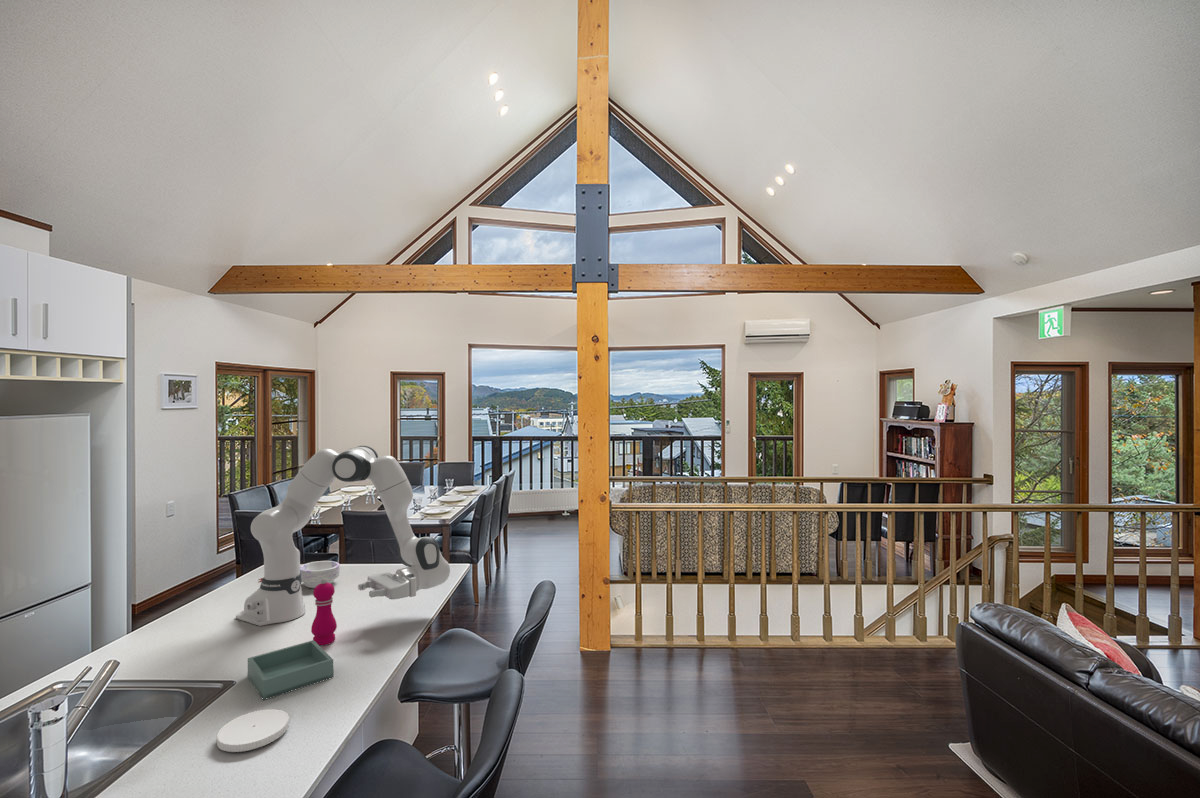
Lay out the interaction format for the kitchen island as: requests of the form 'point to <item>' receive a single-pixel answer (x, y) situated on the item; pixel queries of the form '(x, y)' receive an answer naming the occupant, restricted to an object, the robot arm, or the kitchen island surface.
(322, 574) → the white bowl
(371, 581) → the robot arm
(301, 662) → the tote
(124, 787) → the kitchen island surface
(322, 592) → the pepper mill
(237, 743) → the plastic lid
